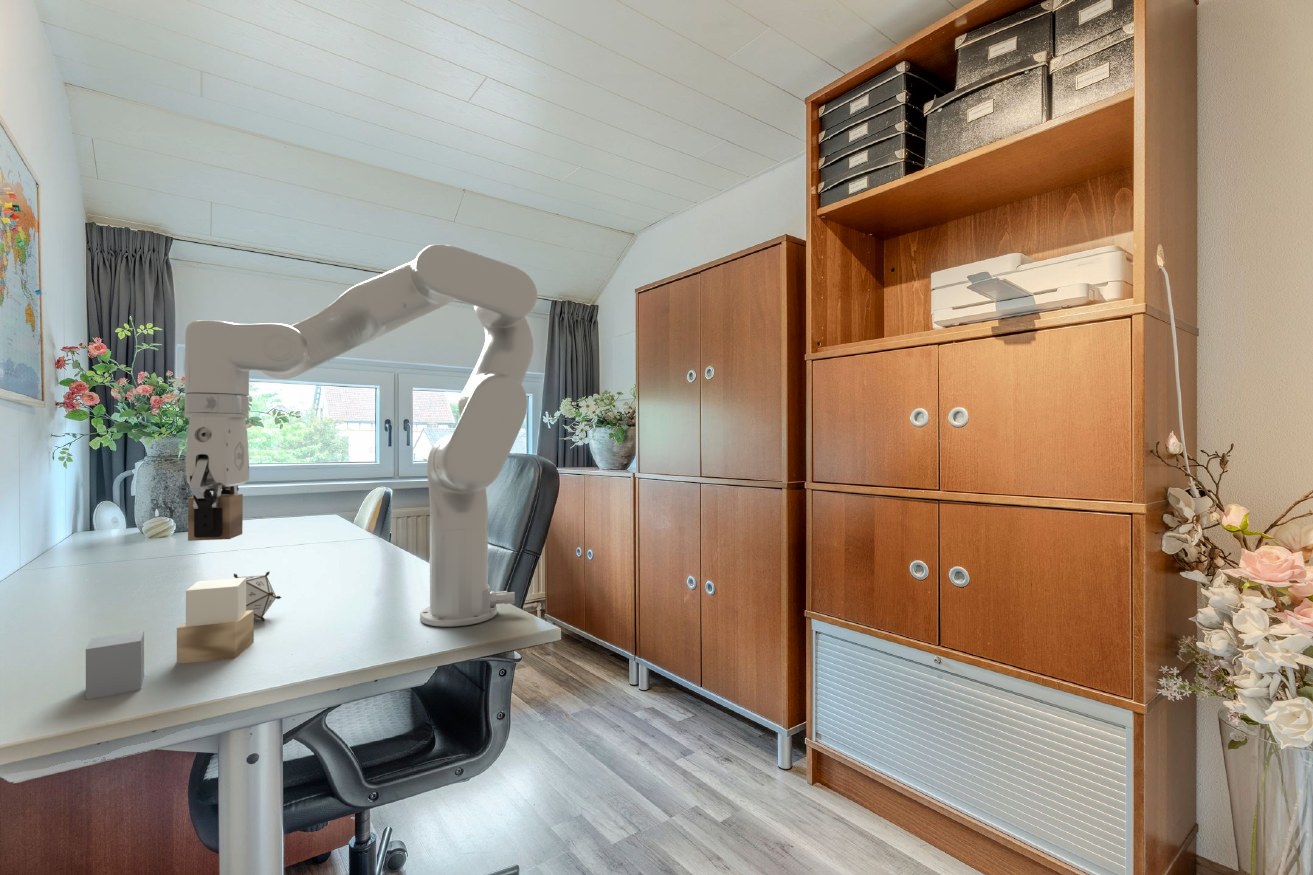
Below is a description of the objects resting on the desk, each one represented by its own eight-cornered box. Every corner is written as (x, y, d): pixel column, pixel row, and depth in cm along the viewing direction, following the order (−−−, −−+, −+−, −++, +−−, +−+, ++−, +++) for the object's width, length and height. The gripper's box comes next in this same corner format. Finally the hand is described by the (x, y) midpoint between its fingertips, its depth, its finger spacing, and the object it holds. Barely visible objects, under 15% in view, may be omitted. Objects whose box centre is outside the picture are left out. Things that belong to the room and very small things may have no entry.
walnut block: (242, 533, 91) (242, 493, 91) (229, 539, 86) (229, 496, 86) (203, 535, 90) (203, 494, 90) (187, 540, 85) (188, 497, 85)
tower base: (253, 643, 92) (253, 610, 92) (235, 659, 86) (235, 623, 86) (200, 647, 90) (199, 613, 90) (176, 664, 84) (176, 627, 84)
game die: (251, 645, 102) (239, 607, 96) (211, 624, 103) (197, 585, 97) (295, 607, 109) (286, 569, 103) (257, 588, 110) (247, 550, 105)
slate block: (144, 676, 79) (144, 630, 79) (141, 689, 75) (140, 640, 75) (91, 686, 76) (91, 638, 76) (85, 700, 72) (85, 649, 72)
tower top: (246, 610, 92) (246, 577, 92) (237, 621, 87) (237, 586, 87) (197, 615, 89) (197, 581, 90) (185, 626, 84) (185, 590, 84)
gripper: (224, 405, 81) (223, 542, 81) (266, 411, 97) (265, 525, 97) (157, 404, 79) (156, 544, 79) (211, 410, 95) (210, 526, 95)
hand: (216, 532), depth 88 cm, fingers closed on walnut block, 5 cm apart
